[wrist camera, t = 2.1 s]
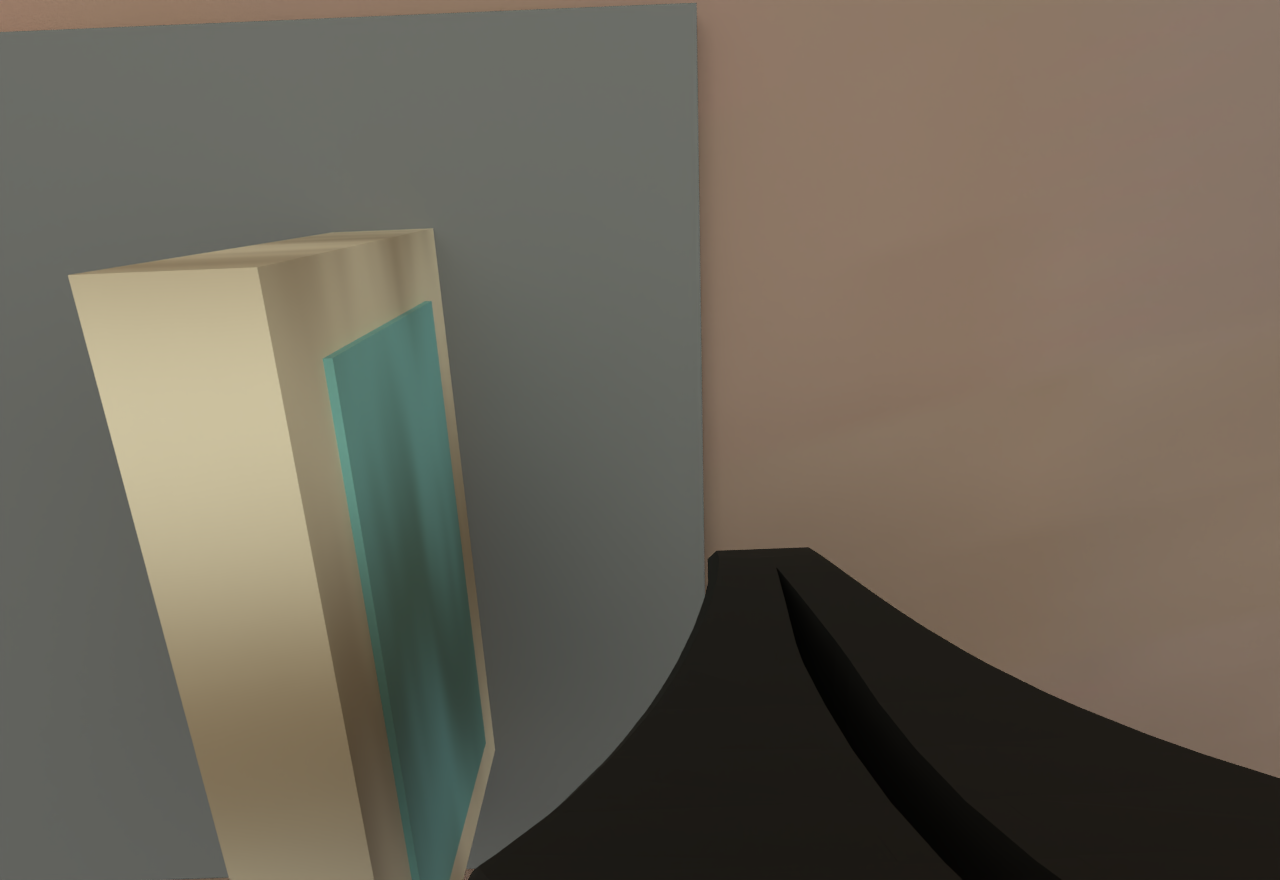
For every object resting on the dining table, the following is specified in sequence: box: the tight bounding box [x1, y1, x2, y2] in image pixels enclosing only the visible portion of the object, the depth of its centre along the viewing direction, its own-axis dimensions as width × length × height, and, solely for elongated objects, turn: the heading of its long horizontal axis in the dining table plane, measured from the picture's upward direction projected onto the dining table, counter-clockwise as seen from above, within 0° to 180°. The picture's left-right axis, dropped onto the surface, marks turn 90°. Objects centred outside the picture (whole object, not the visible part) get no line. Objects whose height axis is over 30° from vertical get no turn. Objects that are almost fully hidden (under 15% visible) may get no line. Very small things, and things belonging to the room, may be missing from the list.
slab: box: [68, 228, 495, 880], centre depth 11 cm, size 10×2×6 cm, turn 2°
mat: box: [0, 3, 705, 880], centre depth 14 cm, size 16×18×1 cm
